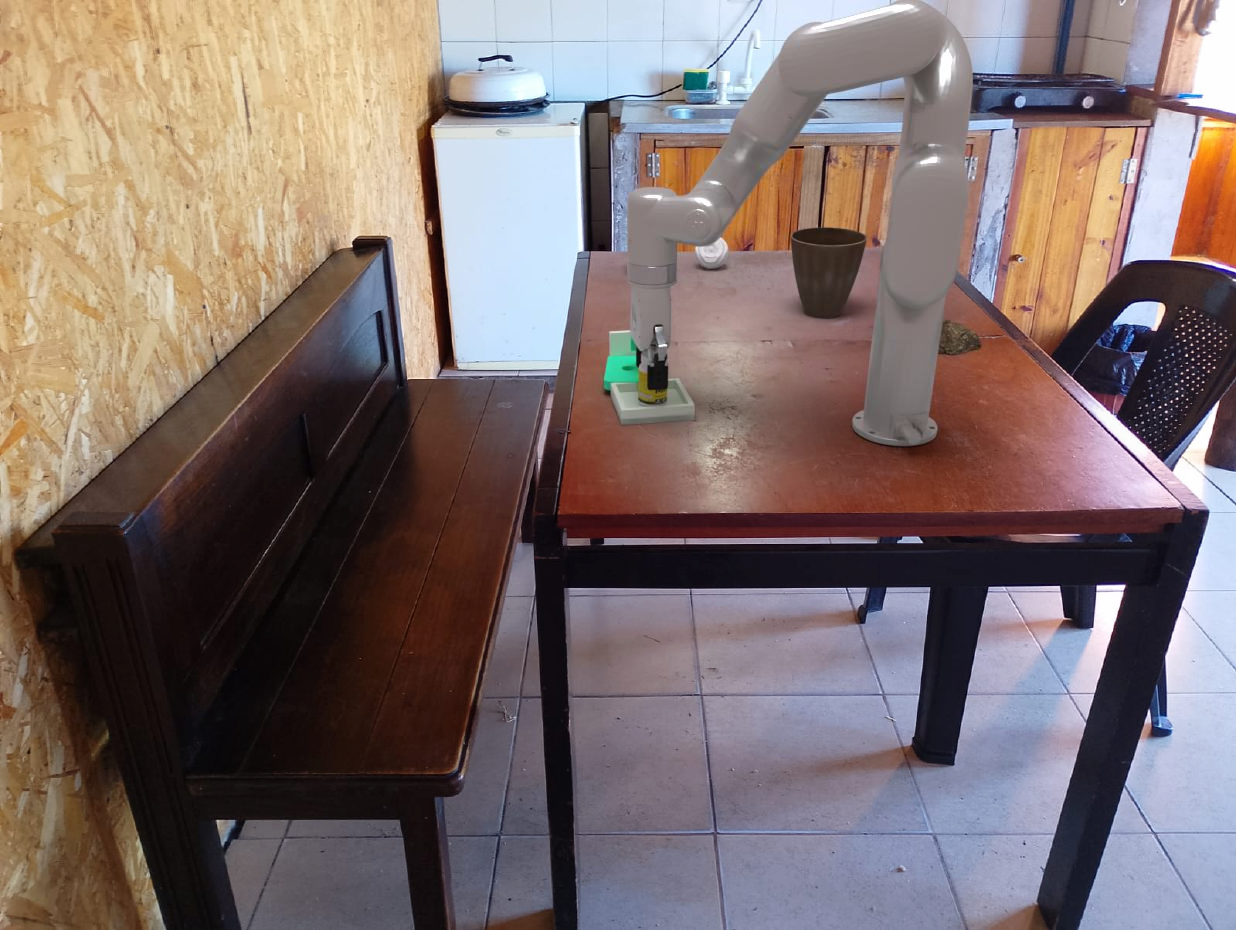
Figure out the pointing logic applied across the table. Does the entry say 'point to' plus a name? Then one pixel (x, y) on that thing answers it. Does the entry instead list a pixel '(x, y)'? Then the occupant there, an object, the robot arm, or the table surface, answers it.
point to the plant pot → (826, 267)
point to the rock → (957, 339)
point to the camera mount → (621, 369)
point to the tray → (635, 413)
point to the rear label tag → (620, 343)
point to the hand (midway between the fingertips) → (651, 377)
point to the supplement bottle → (644, 394)
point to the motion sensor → (712, 254)
